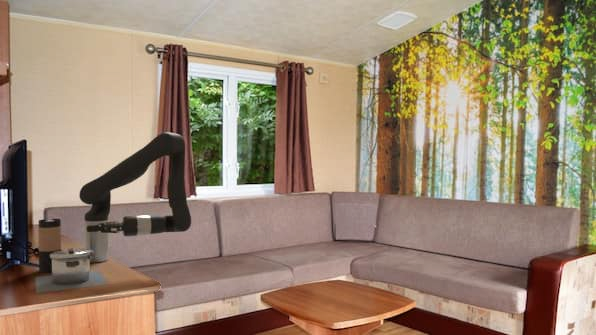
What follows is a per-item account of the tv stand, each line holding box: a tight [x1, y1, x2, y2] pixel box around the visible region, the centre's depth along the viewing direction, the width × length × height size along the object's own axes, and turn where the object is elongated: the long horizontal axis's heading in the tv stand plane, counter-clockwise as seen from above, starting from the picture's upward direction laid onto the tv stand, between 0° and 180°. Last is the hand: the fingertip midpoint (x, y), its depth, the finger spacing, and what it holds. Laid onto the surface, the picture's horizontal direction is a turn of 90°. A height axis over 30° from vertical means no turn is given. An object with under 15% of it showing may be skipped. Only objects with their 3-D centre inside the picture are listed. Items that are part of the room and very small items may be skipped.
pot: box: [51, 254, 93, 285], centre depth 166 cm, size 16×13×9 cm
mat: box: [34, 269, 109, 294], centre depth 166 cm, size 22×22×1 cm
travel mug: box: [38, 218, 62, 274], centre depth 179 cm, size 8×8×20 cm
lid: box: [50, 247, 95, 259], centre depth 166 cm, size 13×14×2 cm
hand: (86, 228), depth 168 cm, fingers closed
